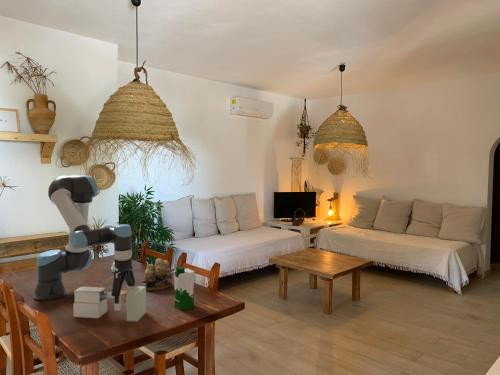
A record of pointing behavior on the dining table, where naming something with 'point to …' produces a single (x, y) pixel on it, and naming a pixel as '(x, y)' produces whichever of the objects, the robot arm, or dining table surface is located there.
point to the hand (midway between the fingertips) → (124, 304)
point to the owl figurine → (157, 276)
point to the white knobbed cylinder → (114, 268)
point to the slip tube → (108, 296)
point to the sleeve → (89, 302)
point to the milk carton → (184, 288)
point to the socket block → (136, 303)
